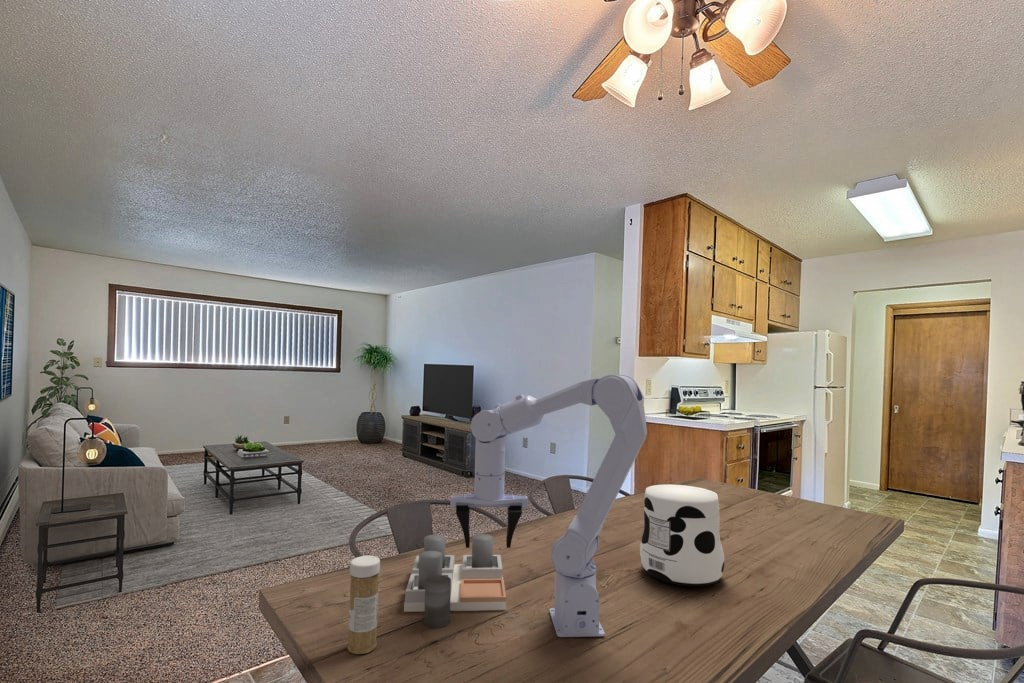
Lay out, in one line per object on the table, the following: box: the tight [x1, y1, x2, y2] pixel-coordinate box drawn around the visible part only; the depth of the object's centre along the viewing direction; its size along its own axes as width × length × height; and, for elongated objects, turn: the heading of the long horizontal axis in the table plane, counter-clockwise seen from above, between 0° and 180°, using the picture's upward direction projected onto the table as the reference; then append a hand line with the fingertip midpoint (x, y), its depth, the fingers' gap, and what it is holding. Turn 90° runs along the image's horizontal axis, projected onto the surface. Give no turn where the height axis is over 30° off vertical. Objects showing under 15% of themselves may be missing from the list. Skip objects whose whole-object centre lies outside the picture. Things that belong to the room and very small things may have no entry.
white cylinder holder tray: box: [403, 533, 507, 613], centre depth 101 cm, size 18×18×8 cm
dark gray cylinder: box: [423, 575, 451, 629], centre depth 88 cm, size 4×4×7 cm
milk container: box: [639, 484, 725, 587], centre depth 110 cm, size 17×17×18 cm
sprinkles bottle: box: [347, 555, 381, 655], centre depth 80 cm, size 5×5×14 cm
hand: (488, 546), depth 96 cm, fingers open, 7 cm apart
